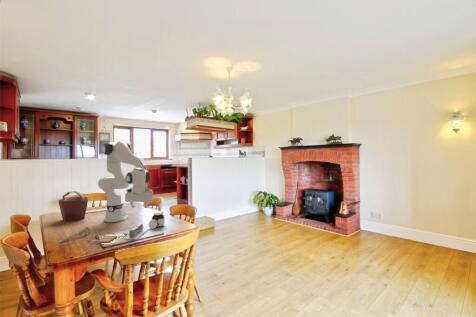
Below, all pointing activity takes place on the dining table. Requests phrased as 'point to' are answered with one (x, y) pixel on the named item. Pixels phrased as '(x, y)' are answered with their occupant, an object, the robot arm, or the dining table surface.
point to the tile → (106, 239)
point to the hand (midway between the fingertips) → (139, 207)
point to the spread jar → (157, 220)
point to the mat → (100, 243)
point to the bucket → (73, 207)
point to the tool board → (136, 235)
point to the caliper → (77, 234)
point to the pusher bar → (135, 230)
